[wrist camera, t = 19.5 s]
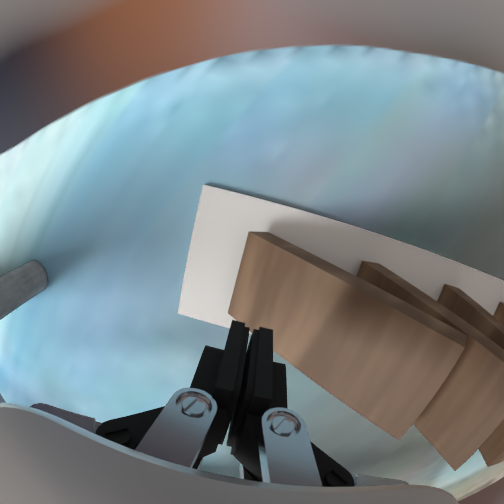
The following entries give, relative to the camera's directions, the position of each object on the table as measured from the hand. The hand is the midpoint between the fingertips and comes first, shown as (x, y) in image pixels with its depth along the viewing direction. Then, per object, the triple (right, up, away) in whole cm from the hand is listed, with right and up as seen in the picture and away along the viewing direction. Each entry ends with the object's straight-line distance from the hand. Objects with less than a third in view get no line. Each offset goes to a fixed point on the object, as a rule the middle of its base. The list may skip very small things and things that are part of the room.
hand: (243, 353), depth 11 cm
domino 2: (+8, +1, +9) cm, 12 cm away
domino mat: (+16, -1, +10) cm, 19 cm away
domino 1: (0, +3, +9) cm, 9 cm away
